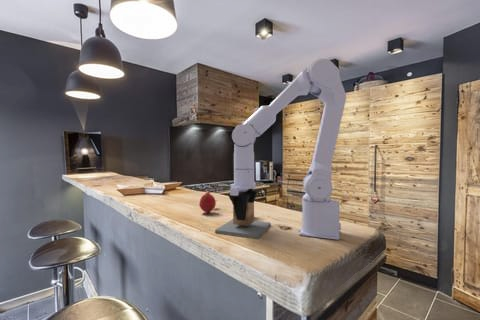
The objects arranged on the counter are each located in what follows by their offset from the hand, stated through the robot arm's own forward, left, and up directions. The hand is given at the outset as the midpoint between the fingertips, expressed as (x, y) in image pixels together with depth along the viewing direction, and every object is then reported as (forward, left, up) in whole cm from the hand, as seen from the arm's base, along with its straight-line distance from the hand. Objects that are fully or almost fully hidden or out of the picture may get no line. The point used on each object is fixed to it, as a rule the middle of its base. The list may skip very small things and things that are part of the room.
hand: (244, 217), depth 63 cm
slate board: (0, 0, -3) cm, 3 cm away
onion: (+19, -12, -3) cm, 23 cm away
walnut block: (0, 0, -2) cm, 2 cm away
